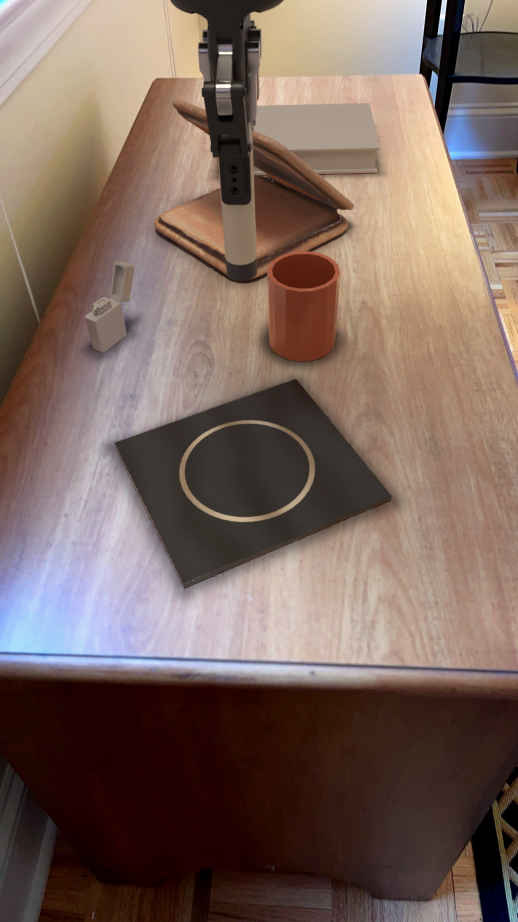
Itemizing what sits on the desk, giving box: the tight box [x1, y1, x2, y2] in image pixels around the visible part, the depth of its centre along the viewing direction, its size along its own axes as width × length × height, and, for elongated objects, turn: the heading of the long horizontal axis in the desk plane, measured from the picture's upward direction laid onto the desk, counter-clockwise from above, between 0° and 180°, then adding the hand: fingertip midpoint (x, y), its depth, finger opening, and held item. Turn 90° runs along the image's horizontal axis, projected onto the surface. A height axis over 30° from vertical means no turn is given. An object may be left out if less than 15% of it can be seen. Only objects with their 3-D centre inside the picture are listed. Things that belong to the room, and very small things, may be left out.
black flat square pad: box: [114, 378, 392, 589], centre depth 64 cm, size 20×18×1 cm
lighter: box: [84, 260, 135, 354], centre depth 76 cm, size 7×2×8 cm, turn 146°
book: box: [254, 102, 380, 176], centre depth 109 cm, size 18×4×24 cm
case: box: [153, 99, 355, 281], centre depth 88 cm, size 20×21×16 cm
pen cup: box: [266, 250, 341, 362], centre depth 74 cm, size 7×7×9 cm
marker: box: [217, 123, 257, 282], centre depth 54 cm, size 3×3×12 cm
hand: (238, 191), depth 53 cm, fingers closed on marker, 2 cm apart
